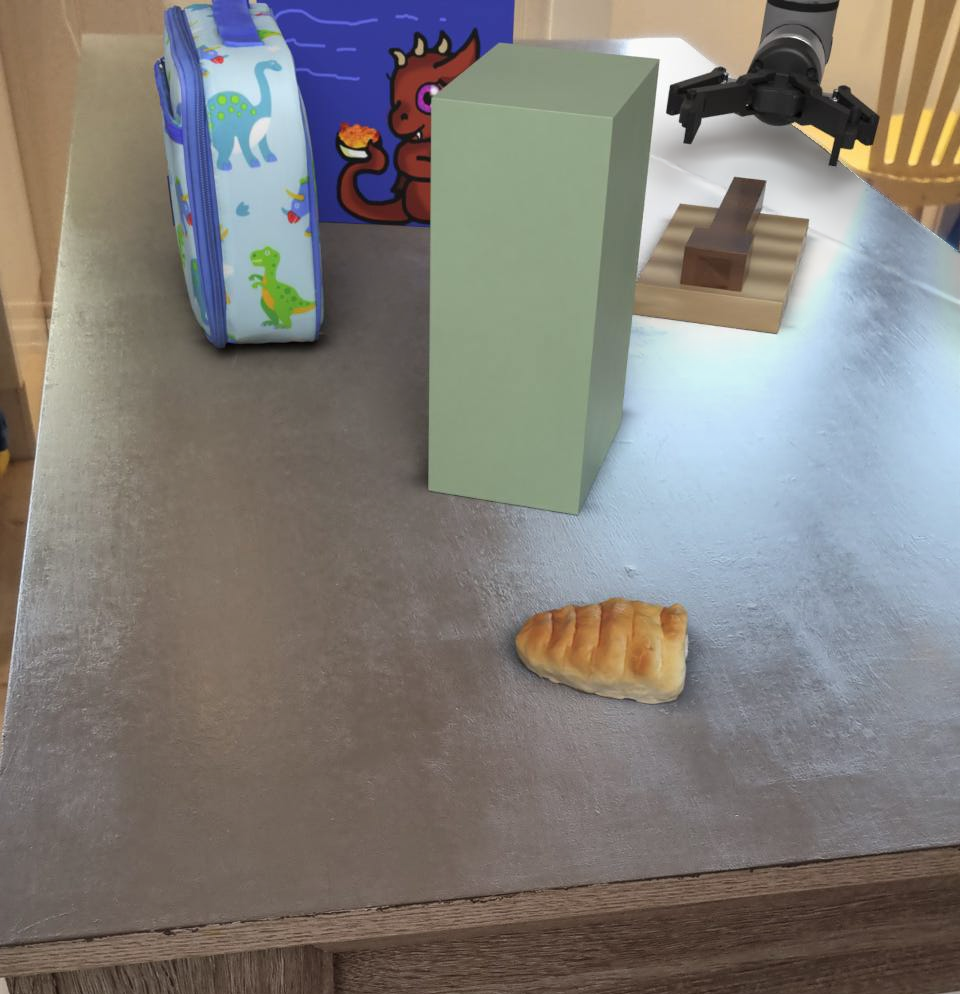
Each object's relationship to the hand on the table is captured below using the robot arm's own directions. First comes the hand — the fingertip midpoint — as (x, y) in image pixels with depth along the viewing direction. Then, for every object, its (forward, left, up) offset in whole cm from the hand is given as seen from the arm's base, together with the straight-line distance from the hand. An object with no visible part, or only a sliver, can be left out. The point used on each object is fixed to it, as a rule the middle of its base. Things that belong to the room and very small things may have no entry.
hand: (762, 139), depth 126 cm
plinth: (-33, +45, -7) cm, 56 cm away
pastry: (-57, +54, -7) cm, 79 cm away
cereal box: (+16, +31, -7) cm, 35 cm away
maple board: (-11, +12, -7) cm, 18 cm away
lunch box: (0, +51, -7) cm, 52 cm away
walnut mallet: (-10, +11, -5) cm, 16 cm away
